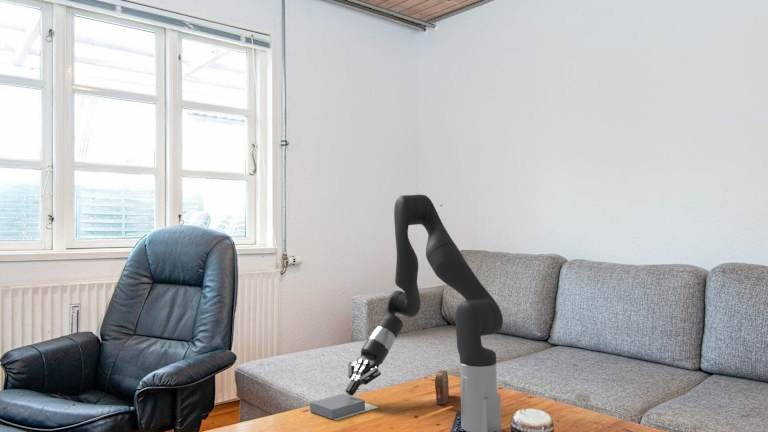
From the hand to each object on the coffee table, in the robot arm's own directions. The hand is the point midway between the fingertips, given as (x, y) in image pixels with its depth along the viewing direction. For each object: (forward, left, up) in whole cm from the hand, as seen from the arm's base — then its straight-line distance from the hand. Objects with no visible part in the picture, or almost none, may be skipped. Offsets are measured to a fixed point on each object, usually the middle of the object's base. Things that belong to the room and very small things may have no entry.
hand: (348, 393), depth 161 cm
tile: (0, -2, -3) cm, 3 cm away
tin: (-14, -25, -5) cm, 29 cm away
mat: (0, +2, -5) cm, 5 cm away
